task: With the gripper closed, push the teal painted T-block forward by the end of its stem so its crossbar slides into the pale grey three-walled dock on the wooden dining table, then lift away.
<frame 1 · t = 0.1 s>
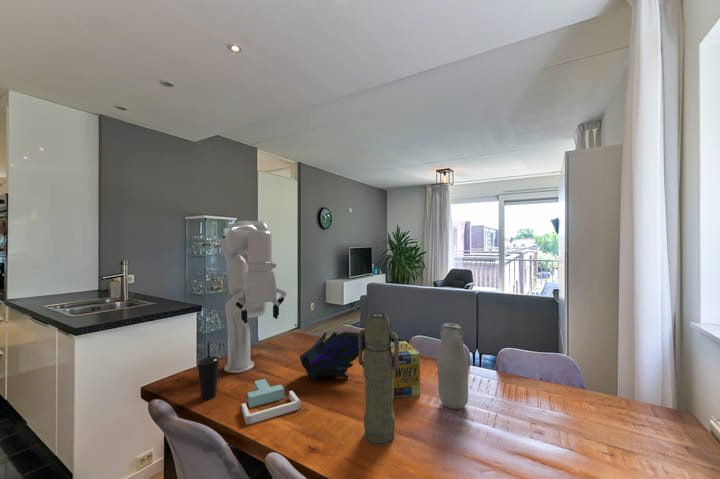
hand: (260, 320, 100), 31 cm above the table, tool pointing down, fingers open, 9 cm apart
protein box: (400, 388, 117), on the table
dock: (271, 410, 103), on the table
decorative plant: (335, 375, 130), on the table
drinking cup: (208, 397, 112), on the table
t block: (263, 395, 113), on the table
thermos: (379, 436, 88), on the table
pale grey bottle: (453, 406, 103), on the table
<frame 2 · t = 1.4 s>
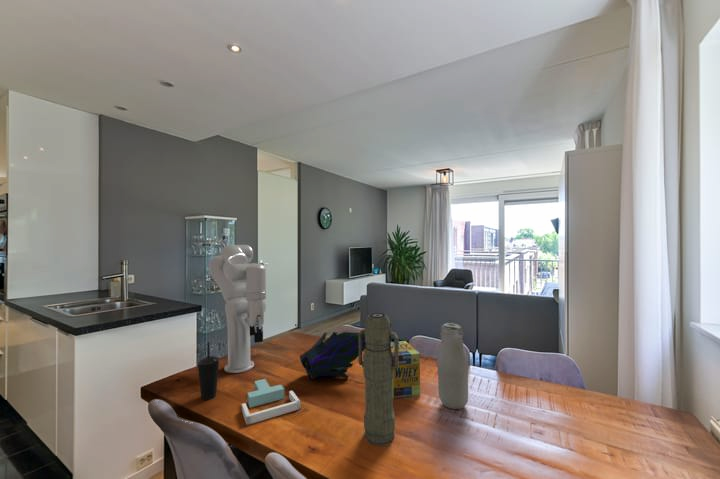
hand: (256, 338, 122), 18 cm above the table, tool pointing down, fingers open, 9 cm apart
nothing on the table moved.
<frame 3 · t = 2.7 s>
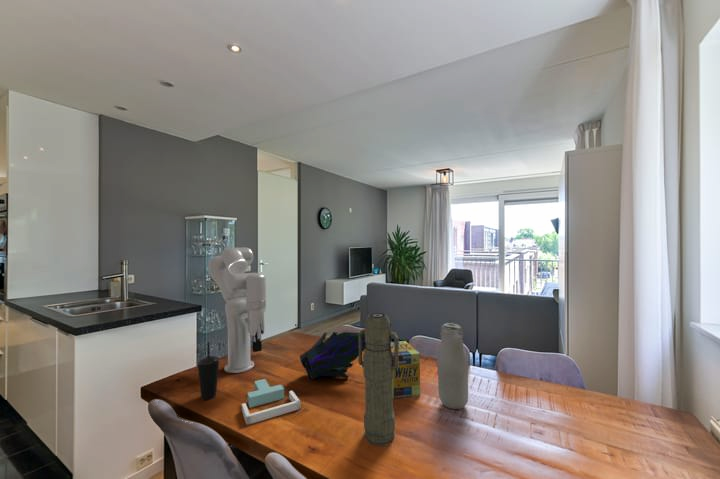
hand: (257, 350, 122), 13 cm above the table, tool pointing down, fingers closed
nothing on the table moved.
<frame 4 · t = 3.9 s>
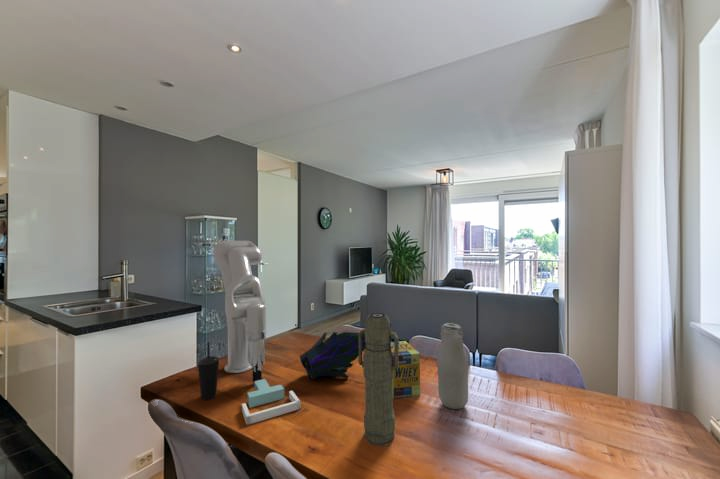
hand: (257, 380, 122), 1 cm above the table, tool pointing down, fingers closed
nothing on the table moved.
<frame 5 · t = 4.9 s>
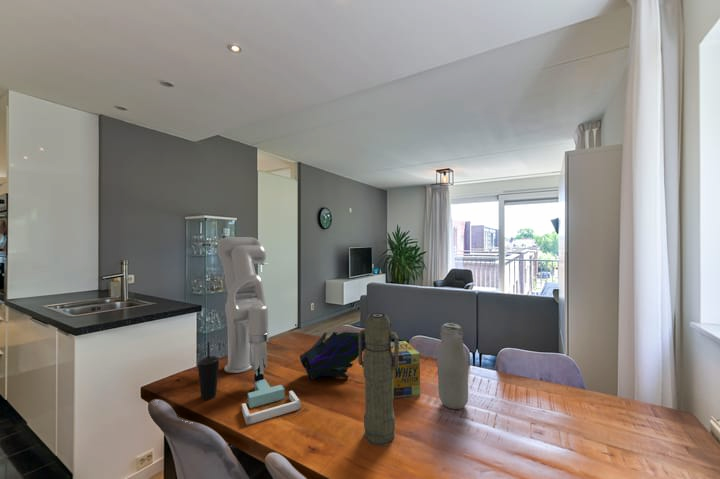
hand: (259, 384, 119), 1 cm above the table, tool pointing down, fingers closed
t block: (263, 396, 112), on the table, touching gripper
everything else where it was.
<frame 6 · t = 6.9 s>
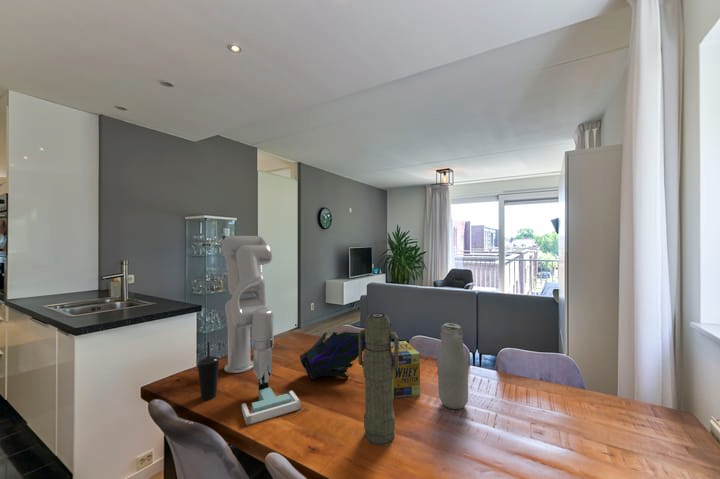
hand: (263, 393, 113), 1 cm above the table, tool pointing down, fingers closed
t block: (268, 405, 105), on the table, touching gripper
everything else where it was.
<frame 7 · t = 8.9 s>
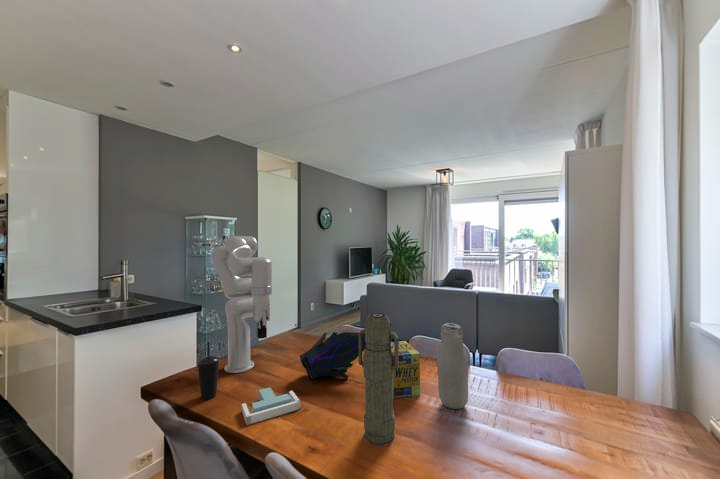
hand: (262, 337, 118), 20 cm above the table, tool pointing down, fingers closed
t block: (268, 405, 105), on the table
everything else where it was.
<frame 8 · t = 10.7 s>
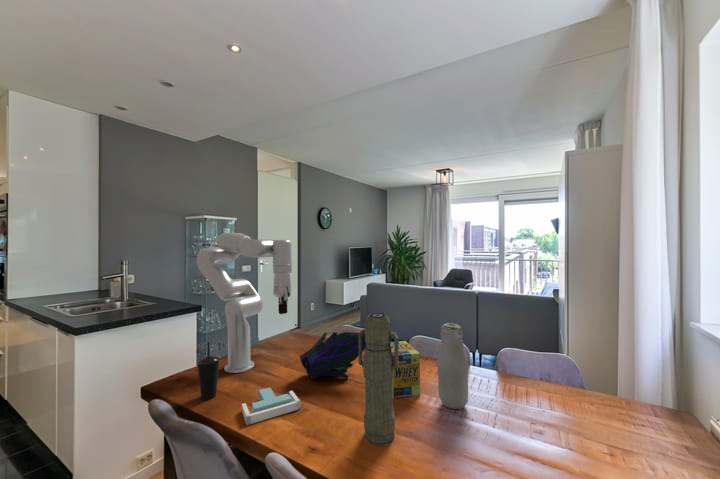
hand: (282, 313, 127), 27 cm above the table, tool pointing down, fingers closed
nothing on the table moved.
at the end: t block 0.2 cm from the target spot, on the table; t block tilted 0° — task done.
